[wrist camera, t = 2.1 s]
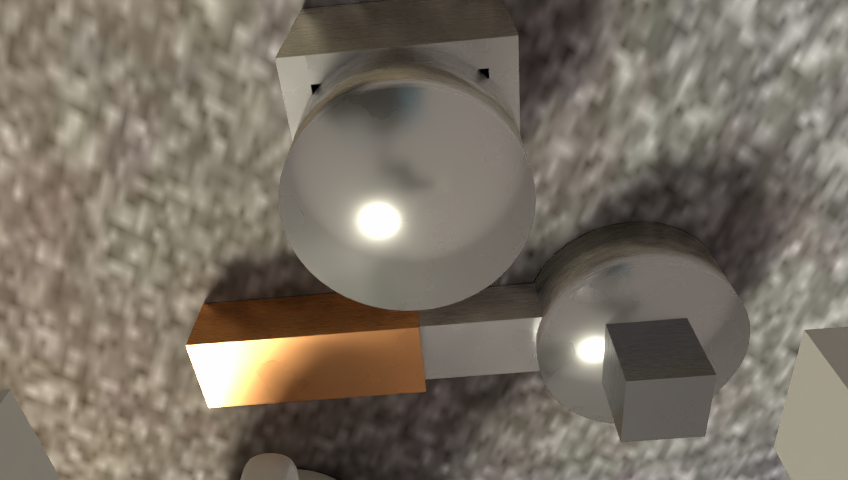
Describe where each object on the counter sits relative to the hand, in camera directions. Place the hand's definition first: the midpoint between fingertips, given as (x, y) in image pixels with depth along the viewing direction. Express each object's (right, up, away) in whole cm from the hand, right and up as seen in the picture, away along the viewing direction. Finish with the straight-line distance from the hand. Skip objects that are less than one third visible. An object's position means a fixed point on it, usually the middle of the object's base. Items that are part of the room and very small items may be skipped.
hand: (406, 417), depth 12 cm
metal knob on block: (0, +8, +12) cm, 15 cm away
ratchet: (+2, 0, +17) cm, 18 cm away
